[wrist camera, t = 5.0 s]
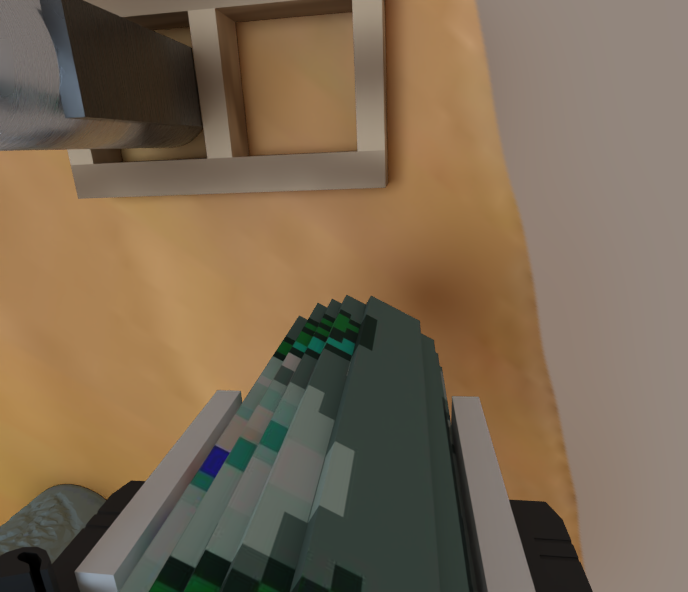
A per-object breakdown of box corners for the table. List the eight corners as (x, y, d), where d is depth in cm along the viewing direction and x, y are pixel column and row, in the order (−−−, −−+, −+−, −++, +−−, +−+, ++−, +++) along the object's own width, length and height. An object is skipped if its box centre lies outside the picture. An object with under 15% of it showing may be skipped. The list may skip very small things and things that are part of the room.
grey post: (224, 144, 29) (51, 146, 15) (128, 149, 30) (-119, 155, 16) (211, 38, 27) (0, -73, 13) (110, 47, 28) (-188, -48, 14)
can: (321, 270, 17) (-138, 917, 3) (468, 346, 17) (781, 1348, 3) (258, 396, 19) (-199, 1155, 5) (389, 464, 19) (339, 1400, 5)
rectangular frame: (387, 183, 29) (385, 187, 26) (108, 193, 31) (78, 198, 28) (384, -34, 25) (381, -56, 22) (69, -1, 28) (30, -17, 25)
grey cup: (114, 579, 43) (10, 733, 32) (17, 534, 43) (-122, 672, 32) (143, 506, 40) (38, 648, 29) (37, 456, 40) (-111, 579, 28)
